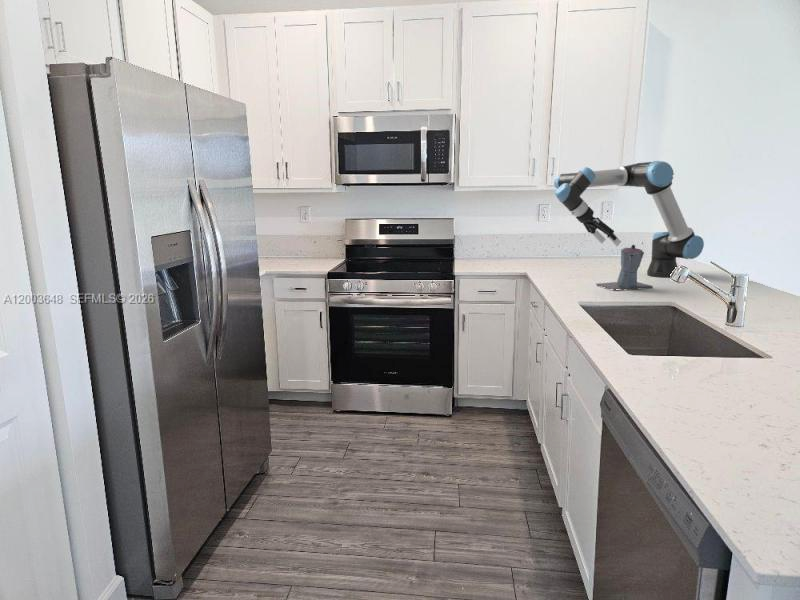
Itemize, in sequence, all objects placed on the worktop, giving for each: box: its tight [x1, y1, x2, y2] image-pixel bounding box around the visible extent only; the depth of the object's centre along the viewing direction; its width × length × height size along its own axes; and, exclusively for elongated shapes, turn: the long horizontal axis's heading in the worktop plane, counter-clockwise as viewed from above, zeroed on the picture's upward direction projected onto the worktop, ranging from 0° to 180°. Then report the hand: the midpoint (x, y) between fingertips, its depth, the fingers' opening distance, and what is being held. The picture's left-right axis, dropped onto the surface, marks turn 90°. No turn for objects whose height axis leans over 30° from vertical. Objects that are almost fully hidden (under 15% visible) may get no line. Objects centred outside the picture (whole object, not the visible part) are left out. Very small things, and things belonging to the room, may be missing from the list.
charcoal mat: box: [595, 281, 653, 290], centre depth 252 cm, size 20×15×1 cm
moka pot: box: [616, 244, 645, 289], centre depth 243 cm, size 10×15×20 cm, turn 160°
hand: (611, 242), depth 246 cm, fingers open, 13 cm apart
